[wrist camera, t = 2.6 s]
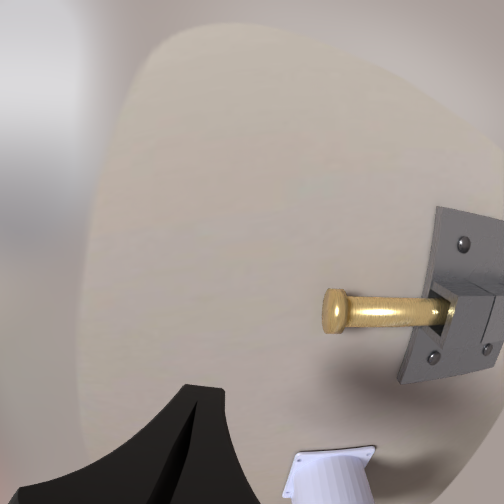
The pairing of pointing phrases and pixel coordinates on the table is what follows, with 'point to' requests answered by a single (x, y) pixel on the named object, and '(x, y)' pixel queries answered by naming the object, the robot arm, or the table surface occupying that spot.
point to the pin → (380, 311)
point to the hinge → (461, 299)
